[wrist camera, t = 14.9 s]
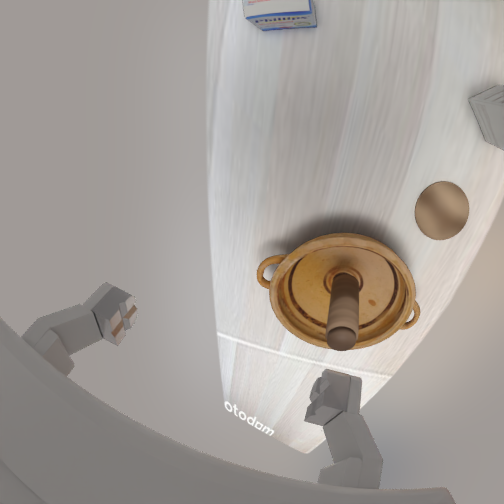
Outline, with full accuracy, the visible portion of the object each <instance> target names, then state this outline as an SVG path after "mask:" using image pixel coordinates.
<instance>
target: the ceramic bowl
mask: <svg viewBox="0 0 504 504" xmlns="http://www.w3.org/2000/svg"><path fill="white" fill-rule="evenodd" d="M271 264H279V266H278V267H277V269H276V270H275V272H274V274H273V277H272V279H271V281H268V280H266V279H265V278H264V277H263V273H264V270H265V268H266V267H267V266H269V265H271ZM342 274H349V275H352V276H354V277H355V278H356V279H357V280H358V282H359V332H358V339H357V341H356V343H355V345H354V347H353V348H351V349H349V350H353V349H360V348H365V347H369V346H372V345H374V344H377V343H380V342H382V341H383V340H385V339H387V338H389V337H390V336H392V335H393V334H394V333H396V332H397V331H398V330H399V329H402V330H403V329H408V328H410V327H412V326H413V325H414V324H415V323H416V322H417V320H418V318H419V316H420V307H419V305H418V303H417V302H416V301H415V296H416V292H415V283H414V280H413V277H412V274H411V272H410V271H409V269H408V267H407V266H406V264H405V263H404V262H403V261H402V260H401V259H400V258H399V257H398V256H397V255H396V254H395V253H394V252H393V250H391V249H390V248H389V247H387V246H386V245H384V244H383V243H381V242H379V241H377V240H375V239H373V238H371V237H368V236H364V235H360V234H354V233H332V234H327V235H323V236H319V237H317V238H314V239H312V240H309V241H307V242H305V243H304V244H302V245H301V246H299V247H298V248H296V249H295V250H294V251H293V252H292V253H290V254H285V255H276V256H272V257H269V258H267V259H265V260H264V261H263V262H262V263H261V264H260V266H259V268H258V270H257V279H258V282H259V283H260V285H262V286H263V287H265V288H267V289H269V295H270V302H271V306H272V309H273V311H274V313H275V315H276V317H277V318H278V320H279V321H280V322H281V323H282V325H283V326H284V327H285V328H286V329H287V330H288V331H289V332H291V333H292V334H294V335H295V336H296V337H298V338H300V339H302V340H303V341H305V342H307V343H310V344H313V345H316V346H319V347H323V348H327V349H332V348H330V347H329V346H328V344H327V339H326V337H325V333H326V326H327V319H328V312H329V304H330V296H331V287H332V282H333V280H334V278H335V277H337V276H339V275H342ZM412 309H413V310H414V313H415V314H414V317H413V319H412V320H411V321H409V322H406V321H407V319H408V318H409V316H410V314H411V312H412Z"/></svg>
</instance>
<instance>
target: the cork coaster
mask: <svg viewBox="0 0 504 504" xmlns="http://www.w3.org/2000/svg"><path fill="white" fill-rule="evenodd" d="M468 215H469V203H468V199H467V197H466V195H465V193H464V192H463V191H462V190H461V188H459V187H458V186H457V185H455V184H453V183H450V182H437V183H434V184H432V185H430V186H429V187H427V188H426V189H425V190H424V191H423V192H422V193H421V195H420V196H419V198H418V200H417V203H416V207H415V218H416V222H417V224H418V227H419V228H420V230H421V231H422V232H423V233H424V234H425V235H426V236H427V237H429V238H432V239H435V240H445V239H449V238H451V237H453V236H455V235H456V234H458V233H459V232H460V231H461V230H462V228H463V227H464V225H465V224H466V222H467V219H468Z"/></svg>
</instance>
